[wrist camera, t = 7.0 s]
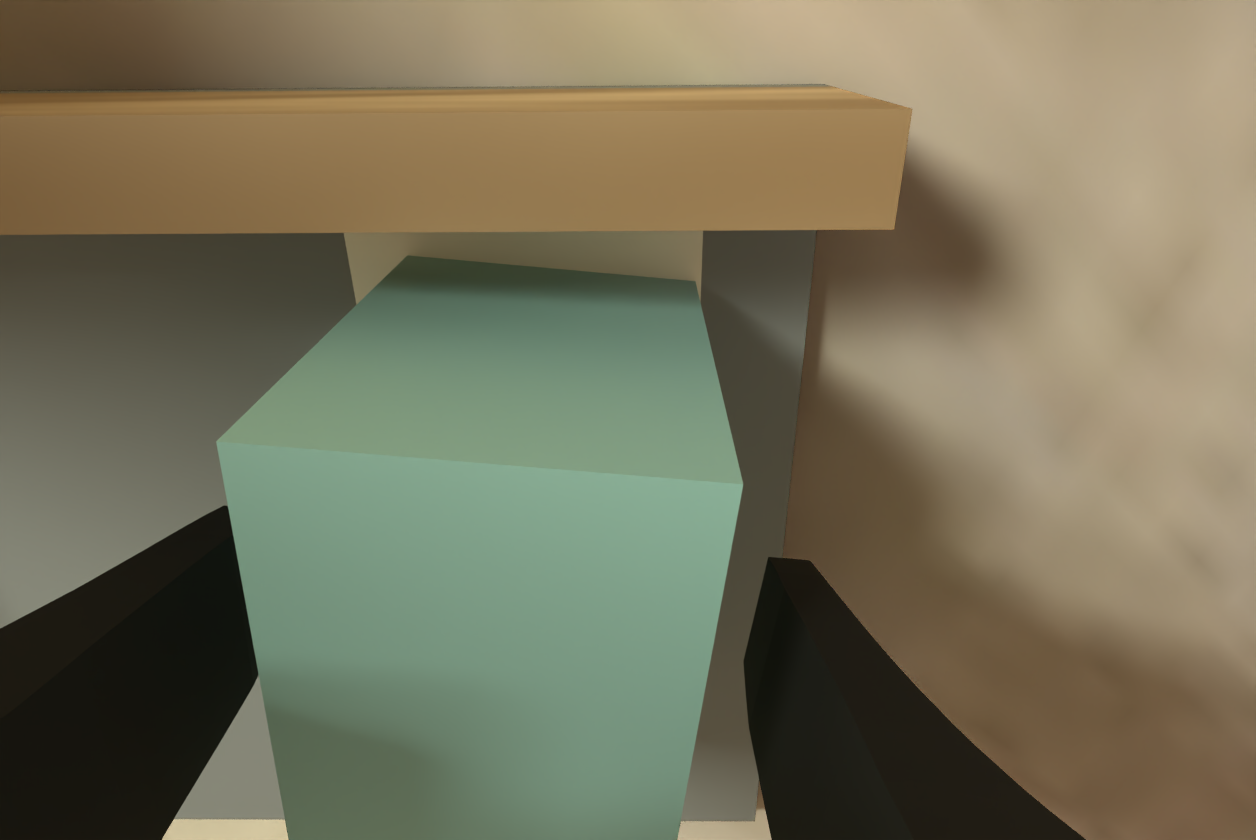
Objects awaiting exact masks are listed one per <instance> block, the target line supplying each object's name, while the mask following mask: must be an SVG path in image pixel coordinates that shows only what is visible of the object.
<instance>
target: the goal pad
mask: <svg viewBox="0 0 1256 840" xmlns="http://www.w3.org/2000/svg"><path fill="white" fill-rule="evenodd" d="M344 238H345V243H346V249H347V255H348V260H349V266H350V271H351V277H352V282H353V288H354V294H355V299H356V305H357V304H358V303H359V302H360V301H361V300H362V299H363V298H364V297H365V296H366V295H367V294H368V293H369V292H370V291H371V290H372V289H373V288H374V287H375V286H376V285H377V284H378V283H379V282H380V281H381V280H382V279H384V278H385V277H386V276H387V275H388V274H389V273H390V272H391V271H392V270H393V269H394V268H395V267H396V266H397V265H398V264H399V263H400V262H401V261H402V260H403V259H404V258H405V257H406V256H407V255H409V256H420V257H431V258H442V259H454V260H465V261H476V262H487V263H498V264H509V265H520V266H532V267H543V268H554V269H565V270H576V271H587V272H598V273H610V274H621V275H632V276H643V277H654V278H665V279H676V280H688V281H695V282H696V286H697V290H698V295H699V299H700V301H701V274H702V247H703V231H559V232H391V233H344Z"/></svg>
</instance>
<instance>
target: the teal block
mask: <svg viewBox="0 0 1256 840" xmlns="http://www.w3.org/2000/svg"><path fill="white" fill-rule="evenodd" d="M216 443H217V449H218V454H219V460H220V465H221V471H222V476H223V482H224V487H225V493H226V498H227V504H228V509H229V515H230V520H231V526H232V531H233V537H234V542H235V548H236V553H237V559H238V564H239V570H240V575H241V581H242V586H243V592H244V597H245V602H246V608H247V613H248V619H249V624H250V630H251V635H252V641H253V646H254V652H255V657H256V663H257V668H258V674H259V679H260V685H261V690H262V696H263V701H264V707H265V712H266V718H267V723H268V729H269V734H270V740H271V745H272V751H273V756H274V762H275V767H276V773H277V778H278V784H279V789H280V795H281V800H282V805H283V811H284V816H285V822H286V827H287V833H288V838H289V840H677V838H678V832H679V827H680V822H681V816H682V811H683V806H684V800H685V795H686V789H687V784H688V779H689V773H690V768H691V763H692V757H693V752H694V747H695V741H696V736H697V730H698V725H699V720H700V714H701V709H702V704H703V698H704V693H705V687H706V682H707V677H708V671H709V666H710V661H711V655H712V650H713V645H714V639H715V634H716V628H717V623H718V618H719V612H720V607H721V602H722V596H723V591H724V586H725V580H726V575H727V569H728V564H729V559H730V553H731V548H732V543H733V537H734V532H735V527H736V521H737V516H738V510H739V505H740V500H741V494H742V489H743V481H742V477H741V472H740V468H739V464H738V460H737V455H736V451H735V447H734V443H733V439H732V434H731V430H730V426H729V422H728V417H727V413H726V409H725V405H724V400H723V396H722V392H721V388H720V383H719V379H718V375H717V371H716V367H715V362H714V358H713V354H712V350H711V345H710V341H709V337H708V333H707V328H706V324H705V320H704V316H703V312H702V307H701V303H700V299H699V295H698V290H697V286H696V282H695V281H688V280H676V279H665V278H654V277H643V276H632V275H621V274H610V273H598V272H587V271H576V270H565V269H554V268H543V267H532V266H520V265H509V264H498V263H487V262H476V261H465V260H454V259H442V258H431V257H420V256H409V255H407V256H406V257H405V258H404V259H403V260H402V261H401V262H400V263H399V264H398V265H397V266H396V267H395V268H394V269H393V270H392V271H391V272H390V273H389V274H388V275H387V276H386V277H385V278H384V279H382V280H381V281H380V282H379V283H378V284H377V285H376V286H375V287H374V288H373V289H372V290H371V291H370V292H369V293H368V294H367V295H366V296H365V297H364V298H363V299H362V300H361V301H360V302H359V303H358V304H357V305H356V306H355V307H354V308H353V309H352V310H351V311H350V312H349V313H348V314H347V315H346V316H344V317H343V318H342V319H341V320H340V321H339V322H338V323H337V324H336V325H335V326H334V327H333V328H332V329H331V330H330V331H329V332H328V333H327V334H326V335H325V336H324V337H323V338H322V339H321V340H320V341H319V342H318V343H317V344H316V345H315V346H314V347H313V348H312V349H311V350H310V351H309V352H308V353H307V354H305V355H304V356H303V357H302V358H301V359H300V360H299V361H298V362H297V363H296V364H295V365H294V366H293V367H292V368H291V369H290V370H289V371H288V372H287V373H286V374H285V375H284V376H283V377H282V378H281V379H280V380H279V381H278V382H277V383H276V384H275V385H274V386H273V387H272V388H271V389H270V390H269V391H268V392H266V393H265V394H264V395H263V396H262V397H261V398H260V399H259V400H258V401H257V402H256V403H255V404H254V405H253V406H252V407H251V408H250V409H249V410H248V411H247V412H246V413H245V414H244V415H243V416H242V417H241V418H240V419H239V420H238V421H237V422H236V423H235V424H234V425H233V426H232V427H231V428H230V429H229V430H227V431H226V432H225V433H224V434H223V435H222V436H221V437H220V438H219V439H218V440H217V441H216Z"/></svg>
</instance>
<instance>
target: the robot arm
mask: <svg viewBox="0 0 1256 840" xmlns="http://www.w3.org/2000/svg"><path fill="white" fill-rule="evenodd" d="M743 664H744V677H745V691H746V703H747V714H748V724H749V731H750V736H751V741H752V746H753V751H754V756H755V761H756V766H757V771H758V776H759V781H760V786H761V790H762V795H763V800H764V805H765V809H766V814H767V819H768V824H769V828H770V833H771V838H772V840H1086V839H1084V838H1083V837H1082V836H1081V835H1079V834H1078V833H1077V832H1076V831H1074V830H1073V829H1072V828H1071V827H1069V826H1068V825H1067V824H1065V823H1064V822H1063V821H1062V820H1060V819H1059V818H1058V817H1057V816H1055V815H1054V814H1053V813H1052V812H1050V811H1049V810H1048V809H1047V808H1045V807H1044V806H1043V805H1042V804H1041V803H1040V802H1038V801H1037V800H1036V799H1035V798H1034V797H1032V796H1031V795H1030V794H1029V793H1028V792H1026V791H1025V790H1024V789H1023V788H1022V787H1021V786H1019V785H1018V784H1017V783H1016V782H1015V781H1014V780H1013V779H1012V778H1010V777H1009V776H1008V775H1007V774H1006V773H1005V772H1004V771H1003V770H1002V769H1000V768H999V767H998V766H997V765H996V764H995V763H994V762H993V761H992V760H991V759H989V758H988V757H987V756H986V755H985V754H984V753H983V752H982V751H981V750H979V749H978V748H977V747H976V746H975V745H974V744H973V743H972V742H971V741H970V740H969V739H968V738H967V737H966V736H965V735H964V734H962V733H961V732H960V731H959V730H958V729H957V728H956V727H955V726H954V725H953V724H952V723H951V722H950V721H949V720H948V719H947V718H946V717H945V716H944V715H943V714H942V712H941V711H940V710H939V709H938V708H937V707H936V706H935V705H934V704H933V703H932V702H931V701H930V700H929V699H928V698H927V697H926V696H925V695H924V694H923V693H922V692H921V691H920V690H919V689H918V688H917V687H916V686H915V684H914V683H913V682H912V681H911V680H910V679H909V678H908V677H907V676H906V675H905V674H904V672H903V671H902V670H901V669H900V668H899V667H898V666H897V665H896V664H895V662H894V661H893V660H892V659H891V658H890V657H889V656H888V655H887V653H886V652H885V651H884V650H883V649H882V648H881V646H880V645H879V644H878V643H877V642H876V641H875V640H874V638H873V637H872V636H871V635H870V634H869V632H868V631H867V630H866V629H865V628H864V626H863V625H862V624H861V623H860V622H859V620H858V619H857V618H856V617H855V616H854V614H853V613H852V612H851V611H850V609H849V608H848V607H847V606H846V605H845V603H844V602H843V601H842V600H841V598H840V597H839V596H838V595H837V593H836V592H835V591H834V590H833V588H832V587H831V586H830V585H829V584H828V582H827V581H826V580H825V579H824V577H823V576H822V575H821V574H820V572H819V571H818V570H817V569H816V568H815V566H814V565H813V564H812V563H811V562H810V561H808V560H798V559H787V558H777V557H768V560H767V564H766V568H765V573H764V577H763V581H762V585H761V589H760V594H759V598H758V602H757V606H756V610H755V614H754V619H753V623H752V627H751V631H750V635H749V640H748V644H747V648H746V652H745V656H744V661H743ZM258 675H259V674H258V668H257V663H256V657H255V652H254V646H253V641H252V635H251V630H250V624H249V619H248V613H247V608H246V602H245V597H244V592H243V586H242V581H241V575H240V570H239V564H238V559H237V553H236V548H235V542H234V537H233V531H232V526H231V520H230V515H229V509H228V506H222V507H220V508H218V509H216V510H214V511H212V512H210V513H208V514H206V515H204V516H203V517H201V518H199V519H197V520H195V521H193V522H192V523H190V524H188V525H186V526H185V527H183V528H181V529H179V530H178V531H176V532H174V533H172V534H171V535H169V536H167V537H166V538H164V539H162V540H160V541H159V542H157V543H155V544H153V545H152V546H150V547H148V548H147V549H145V550H143V551H141V552H140V553H138V554H136V555H134V556H133V557H131V558H129V559H127V560H126V561H124V562H122V563H120V564H119V565H117V566H115V567H113V568H112V569H110V570H108V571H106V572H105V573H103V574H101V575H99V576H98V577H96V578H94V579H92V580H91V581H89V582H87V583H85V584H84V585H82V586H80V587H78V588H76V589H74V590H73V591H71V592H69V593H67V594H65V595H63V596H61V597H59V598H57V599H55V600H54V601H52V602H50V603H48V604H46V605H44V606H42V607H40V608H38V609H37V610H35V611H33V612H31V613H29V614H27V615H25V616H23V617H21V618H19V619H18V620H16V621H14V622H12V623H10V624H8V625H6V626H4V627H2V628H0V840H162V838H163V836H164V834H165V833H166V831H167V829H168V828H169V826H170V824H171V823H172V821H173V819H174V818H175V816H176V815H177V813H178V811H179V810H180V808H181V806H182V805H183V803H184V801H185V800H186V798H187V796H188V795H189V793H190V791H191V790H192V788H193V786H194V785H195V783H196V781H197V780H198V778H199V776H200V775H201V773H202V772H203V770H204V768H205V767H206V765H207V763H208V762H209V760H210V758H211V757H212V755H213V753H214V752H215V750H216V748H217V747H218V745H219V743H220V742H221V740H222V738H223V737H224V735H225V733H226V732H227V730H228V728H229V727H230V725H231V723H232V722H233V720H234V718H235V717H236V715H237V713H238V712H239V710H240V708H241V706H242V705H243V703H244V701H245V700H246V698H247V696H248V694H249V693H250V691H251V689H252V688H253V686H254V684H255V682H256V679H257V677H258Z"/></svg>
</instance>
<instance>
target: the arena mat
mask: <svg viewBox="0 0 1256 840" xmlns="http://www.w3.org/2000/svg"><path fill="white" fill-rule="evenodd" d="M711 87H831V86H828V85H825V84H802V85H682V86H563V87H444V88H325V89H205V90H86V91H0V93H112V92H232V91H351V90H471V89H591V88H711ZM816 233H817V230H727V231H703V247H702V274H701V301H700V303H701V307H702V312H703V316H704V320H705V324H706V328H707V333H708V337H709V341H710V345H711V350H712V354H713V358H714V362H715V367H716V371H717V375H718V379H719V383H720V388H721V392H722V396H723V400H724V405H725V409H726V413H727V417H728V422H729V426H730V430H731V434H732V439H733V443H734V447H735V451H736V455H737V460H738V464H739V468H740V472H741V477H742V481H743V489H742V494H741V500H740V505H739V510H738V516H737V521H736V527H735V532H734V537H733V543H732V548H731V553H730V559H729V564H728V569H727V575H726V580H725V586H724V591H723V596H722V602H721V607H720V612H719V618H718V623H717V628H716V634H715V639H714V645H713V650H712V655H711V661H710V666H709V671H708V677H707V682H706V687H705V693H704V698H703V704H702V709H701V714H700V720H699V725H698V730H697V736H696V741H695V747H694V752H693V757H692V763H691V768H690V773H689V779H688V784H687V789H686V795H685V800H684V806H683V811H682V816H681V821H755V814H756V804H757V795H758V785H759V776H758V771H757V766H756V761H755V756H754V751H753V746H752V741H751V736H750V731H749V724H748V714H747V703H746V691H745V677H744V664H743V661H744V656H745V652H746V648H747V644H748V640H749V635H750V631H751V627H752V623H753V619H754V614H755V610H756V606H757V602H758V598H759V594H760V589H761V585H762V581H763V577H764V573H765V568H766V564H767V560H768V557H777V558H782V557H783V547H784V538H785V528H786V519H787V509H788V500H789V490H790V481H791V471H792V462H793V452H794V443H795V433H796V424H797V414H798V404H799V395H800V385H801V376H802V366H803V357H804V347H805V338H806V328H807V319H808V309H809V300H810V290H811V281H812V271H813V262H814V252H815V243H816ZM355 306H356V299H355V294H354V288H353V282H352V277H351V271H350V266H349V260H348V255H347V249H346V243H345V238H344V233H223V234H55V235H0V628H2V627H4V626H6V625H8V624H10V623H12V622H14V621H16V620H18V619H19V618H21V617H23V616H25V615H27V614H29V613H31V612H33V611H35V610H37V609H38V608H40V607H42V606H44V605H46V604H48V603H50V602H52V601H54V600H55V599H57V598H59V597H61V596H63V595H65V594H67V593H69V592H71V591H73V590H74V589H76V588H78V587H80V586H82V585H84V584H85V583H87V582H89V581H91V580H92V579H94V578H96V577H98V576H99V575H101V574H103V573H105V572H106V571H108V570H110V569H112V568H113V567H115V566H117V565H119V564H120V563H122V562H124V561H126V560H127V559H129V558H131V557H133V556H134V555H136V554H138V553H140V552H141V551H143V550H145V549H147V548H148V547H150V546H152V545H153V544H155V543H157V542H159V541H160V540H162V539H164V538H166V537H167V536H169V535H171V534H172V533H174V532H176V531H178V530H179V529H181V528H183V527H185V526H186V525H188V524H190V523H192V522H193V521H195V520H197V519H199V518H201V517H203V516H204V515H206V514H208V513H210V512H212V511H214V510H216V509H218V508H220V507H222V506H228V504H227V498H226V493H225V487H224V482H223V476H222V471H221V465H220V460H219V454H218V449H217V443H216V441H217V440H218V439H219V438H220V437H221V436H222V435H223V434H224V433H225V432H226V431H227V430H229V429H230V428H231V427H232V426H233V425H234V424H235V423H236V422H237V421H238V420H239V419H240V418H241V417H242V416H243V415H244V414H245V413H246V412H247V411H248V410H249V409H250V408H251V407H252V406H253V405H254V404H255V403H256V402H257V401H258V400H259V399H260V398H261V397H262V396H263V395H264V394H265V393H266V392H268V391H269V390H270V389H271V388H272V387H273V386H274V385H275V384H276V383H277V382H278V381H279V380H280V379H281V378H282V377H283V376H284V375H285V374H286V373H287V372H288V371H289V370H290V369H291V368H292V367H293V366H294V365H295V364H296V363H297V362H298V361H299V360H300V359H301V358H302V357H303V356H304V355H305V354H307V353H308V352H309V351H310V350H311V349H312V348H313V347H314V346H315V345H316V344H317V343H318V342H319V341H320V340H321V339H322V338H323V337H324V336H325V335H326V334H327V333H328V332H329V331H330V330H331V329H332V328H333V327H334V326H335V325H336V324H337V323H338V322H339V321H340V320H341V319H342V318H343V317H344V316H346V315H347V314H348V313H349V312H350V311H351V310H352V309H353V308H354V307H355ZM174 819H285V816H284V811H283V805H282V800H281V795H280V789H279V784H278V778H277V773H276V767H275V762H274V756H273V751H272V745H271V740H270V734H269V729H268V723H267V718H266V712H265V707H264V701H263V696H262V690H261V685H260V679H259V675H258V677H257V679H256V682H255V684H254V686H253V688H252V689H251V691H250V693H249V694H248V696H247V698H246V700H245V701H244V703H243V705H242V706H241V708H240V710H239V712H238V713H237V715H236V717H235V718H234V720H233V722H232V723H231V725H230V727H229V728H228V730H227V732H226V733H225V735H224V737H223V738H222V740H221V742H220V743H219V745H218V747H217V748H216V750H215V752H214V753H213V755H212V757H211V758H210V760H209V762H208V763H207V765H206V767H205V768H204V770H203V772H202V773H201V775H200V776H199V778H198V780H197V781H196V783H195V785H194V786H193V788H192V790H191V791H190V793H189V795H188V796H187V798H186V800H185V801H184V803H183V805H182V806H181V808H180V810H179V811H178V813H177V815H176V816H175V818H174Z"/></svg>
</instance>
